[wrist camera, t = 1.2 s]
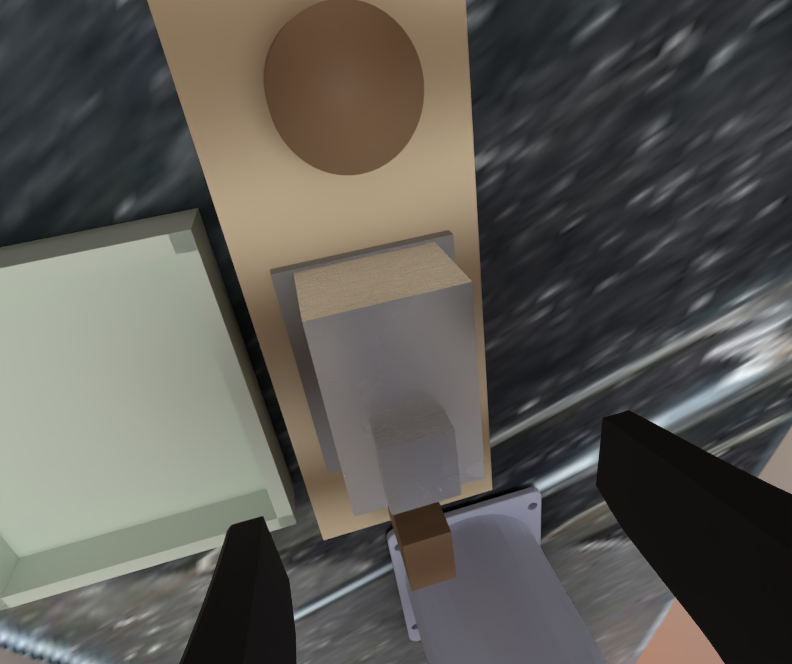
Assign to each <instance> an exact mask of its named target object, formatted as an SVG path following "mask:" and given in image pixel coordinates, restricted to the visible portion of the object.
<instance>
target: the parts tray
mask: <svg viewBox="0 0 792 664" xmlns="http://www.w3.org/2000/svg"><path fill="white" fill-rule="evenodd" d="M260 516H263V517H264V519H265V522H266V524H267V527H268V529H269V532H271V531H274V530H278V529H281V528H284V527H288V526H291V525H295V524H297V523H296V512H295V501H294V490H293V482H292V479H291V476H290V473H289V471H288V468H287V465H286V462H285V459H284V456H283V453H282V450H281V447H280V444H279V441H278V439H277V436H276V433H275V430H274V427H273V424H272V421H271V418H270V415H269V412H268V409H267V407H266V404H265V401H264V398H263V395H262V392H261V389H260V386H259V383H258V380H257V377H256V375H255V372H254V369H253V366H252V363H251V360H250V357H249V354H248V351H247V348H246V345H245V342H244V340H243V337H242V334H241V331H240V328H239V325H238V322H237V319H236V316H235V313H234V310H233V308H232V305H231V302H230V299H229V296H228V293H227V290H226V287H225V284H224V281H223V278H222V276H221V273H220V270H219V267H218V264H217V261H216V258H215V255H214V252H213V249H212V246H211V244H210V241H209V238H208V235H207V232H206V229H205V226H204V223H203V220H202V217H201V214H200V212H199V209H198V208H195V209H190V210H185V211H180V212H175V213H170V214H165V215H160V216H155V217H150V218H145V219H140V220H135V221H130V222H125V223H120V224H115V225H110V226H105V227H100V228H95V229H90V230H85V231H80V232H75V233H70V234H65V235H60V236H55V237H50V238H45V239H40V240H35V241H30V242H25V243H20V244H15V245H10V246H5V247H0V611H1V610H4V609H8V608H11V607H14V606H18V605H21V604H25V603H28V602H31V601H35V600H38V599H42V598H45V597H49V596H52V595H55V594H59V593H62V592H66V591H69V590H72V589H76V588H79V587H83V586H86V585H90V584H93V583H96V582H100V581H103V580H107V579H110V578H114V577H117V576H120V575H124V574H127V573H131V572H134V571H137V570H141V569H144V568H148V567H151V566H155V565H158V564H161V563H165V562H168V561H172V560H175V559H178V558H182V557H185V556H189V555H192V554H196V553H199V552H202V551H206V550H209V549H213V548H216V547H219V546H223V543H224V539H225V536H226V532H227V530H228V529H229V527H230V526H231V525H233V524H236V523H239V522H243V521H246V520H250V519H253V518H257V517H260Z"/></svg>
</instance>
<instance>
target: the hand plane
mask: <svg viewBox="0 0 792 664" xmlns="http://www.w3.org/2000/svg"><path fill="white" fill-rule="evenodd" d="M147 1H148V4H149V7H150V10H151V13H152V16H153V19H154V22H155V25H156V29H157V32H158V35H159V38H160V41H161V44H162V47H163V50H164V53H165V56H166V59H167V62H168V65H169V68H170V71H171V75H172V78H173V81H174V84H175V87H176V90H177V93H178V96H179V99H180V102H181V105H182V108H183V111H184V114H185V117H186V120H187V124H188V127H189V130H190V133H191V136H192V139H193V142H194V145H195V148H196V151H197V154H198V157H199V160H200V163H201V166H202V170H203V173H204V176H205V179H206V182H207V185H208V188H209V191H210V194H211V197H212V200H213V203H214V206H215V209H216V212H217V216H218V219H219V222H220V225H221V228H222V231H223V234H224V237H225V240H226V243H227V246H228V249H229V252H230V255H231V258H232V261H233V265H234V268H235V271H236V274H237V277H238V280H239V283H240V286H241V289H242V292H243V295H244V298H245V301H246V304H247V307H248V311H249V314H250V317H251V320H252V323H253V326H254V329H255V332H256V335H257V338H258V341H259V344H260V347H261V350H262V353H263V357H264V360H265V363H266V366H267V369H268V372H269V375H270V378H271V381H272V384H273V387H274V390H275V393H276V396H277V399H278V402H279V406H280V409H281V412H282V415H283V418H284V421H285V424H286V427H287V430H288V433H289V436H290V439H291V442H292V445H293V448H294V452H295V455H296V458H297V461H298V464H299V467H300V470H301V473H302V476H303V479H304V482H305V485H306V488H307V491H308V494H309V497H310V501H311V504H312V507H313V510H314V513H315V516H316V519H317V522H318V525H319V528H320V531H321V534H322V537H323V540H326V539H330V538H333V537H336V536H340V535H343V534H346V533H350V532H353V531H356V530H360V529H363V528H366V527H370V526H373V525H376V524H380V523H383V522H387V521H390V520H391V522H392V526H393V529H394V532H395V536H396V539H397V543H398V546H399V549H400V553H401V556H402V560H403V563H404V567H405V570H406V573H407V577H408V580H409V584H410V587H411V591H416V590H419V589H422V588H425V587H428V586H431V585H434V584H437V583H440V582H444V581H447V580H450V579H453V578H456V577H457V575H456V567H455V559H454V551H453V543H452V534H451V530H450V528H449V525H448V523H447V520H446V518H445V515H444V513H443V511H442V508H441V506H440V505H443V504H447V503H450V502H453V501H457V500H460V499H463V498H467V497H470V496H473V495H477V494H480V493H483V492H487V491H490V490H492V474H491V456H490V437H489V419H488V401H487V383H486V364H485V346H484V328H483V310H482V291H481V273H480V255H479V236H478V218H477V200H476V182H475V163H474V145H473V127H472V109H471V90H470V72H469V54H468V35H467V17H466V0H147ZM428 241H434V242H435V243H436V244H437V245H438V246H439V247H440V248H441V249H442V250H443V251H444V252H445V253H446V254H447V255H448V256H449V258H450V259H451V260H452V261H453V262H454V263H455V264H456V265H457V266H458V267H459V268H460V269H461V270H462V271H463V272H464V273H465V274H466V276H467V277H468V278H469V279H470V280H471V281H472V285H473V300H474V316H475V331H476V347H477V362H478V378H479V393H480V409H481V424H482V440H483V455H484V471H485V478H484V479H480V480H477V481H473V482H470V483H467V484H463V485H460V486H461V495H459V496H456V497H453V498H449V499H446V500H443V501H439V502H436V503H433V504H429V505H426V506H423V507H419V508H416V509H412V510H409V511H406V512H402V513H399V514H396V515H391V512H390V509H389V507H385V508H382V509H379V510H375V511H372V512H368V513H365V514H362V515H358V516H355V517H354V514H353V510H352V507H351V503H350V499H349V495H348V492H347V488H346V484H345V480H344V477H343V473H342V469H341V465H340V462H339V458H338V454H337V450H336V447H335V443H334V439H333V436H332V432H331V428H330V424H329V421H328V417H327V413H326V409H325V406H324V402H323V398H322V394H321V391H320V387H319V383H318V379H317V376H316V372H315V368H314V365H313V361H312V357H311V353H310V350H309V346H308V342H307V338H306V335H305V331H304V327H303V323H302V319H301V313H300V307H299V302H298V296H297V291H296V285H295V279H294V274H293V271H298V270H302V269H307V268H311V267H316V266H320V265H325V264H329V263H334V262H338V261H343V260H347V259H352V258H356V257H361V256H365V255H370V254H374V253H379V252H383V251H388V250H392V249H397V248H401V247H406V246H410V245H415V244H419V243H424V242H428Z"/></svg>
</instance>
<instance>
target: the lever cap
mask: <svg viewBox="0 0 792 664" xmlns="http://www.w3.org/2000/svg"><path fill="white" fill-rule="evenodd" d="M293 274H294V279H295V285H296V291H297V296H298V302H299V307H300V313H301V319H302V323H303V327H304V331H305V335H306V338H307V342H308V346H309V350H310V353H311V357H312V361H313V365H314V368H315V372H316V376H317V379H318V383H319V387H320V391H321V394H322V398H323V402H324V406H325V409H326V413H327V417H328V421H329V424H330V428H331V432H332V436H333V439H334V443H335V447H336V450H337V454H338V458H339V462H340V465H341V469H342V473H343V477H344V480H345V484H346V488H347V492H348V495H349V499H350V503H351V507H352V510H353V514H354V517H355V516H358V515H362V514H365V513H368V512H372V511H375V510H379V509H382V508H385V507H389V509H390V512H391V515H396V514H399V513H402V512H406V511H409V510H412V509H416V508H419V507H423V506H426V505H429V504H433V503H436V502H439V501H443V500H446V499H449V498H453V497H456V496H459V495H461V486H460V485H463V484H467V483H470V482H473V481H477V480H480V479H484V478H485V471H484V455H483V440H482V424H481V409H480V393H479V378H478V362H477V347H476V331H475V316H474V300H473V285H472V281H471V280H470V279H469V278H468V277H467V276H466V274H465V273H464V272H463V271H462V270H461V269H460V268H459V267H458V266H457V265H456V264H455V263H454V262H453V261H452V260H451V259H450V258H449V256H448V255H447V254H446V253H445V252H444V251H443V250H442V249H441V248H440V247H439V246H438V245H437V244H436V243H435V242H434V241H428V242H424V243H419V244H415V245H410V246H406V247H401V248H397V249H392V250H388V251H383V252H379V253H374V254H370V255H365V256H361V257H356V258H352V259H347V260H343V261H338V262H334V263H329V264H325V265H320V266H316V267H311V268H307V269H302V270H298V271H293Z"/></svg>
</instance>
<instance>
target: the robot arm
mask: <svg viewBox="0 0 792 664" xmlns="http://www.w3.org/2000/svg"><path fill="white" fill-rule="evenodd" d="M596 486H597V488H598V489H599V491H600V493H601V494H602V496H603V498H604V500H605V501H606V503H607V505H608V506H609V508H610V510H611V511H612V513H613V514H614V516H615V518H616V519H617V521H618V522H619V524H620V526H621V527H622V529H623V530H624V531H625V533H626V534H627V535H628V537H629V538H630V539H631V541H632V542H633V543H634V545H635V546H636V547H637V548H638V550H639V551H640V552H641V554H642V555H643V556H644V558H645V559H646V560H647V561H648V563H649V564H650V565H651V567H652V568H653V569H654V570H655V572H656V573H657V574H658V575H659V577H660V578H661V579H662V581H663V582H664V583H665V584H666V586H667V587H668V588H669V589H670V591H671V592H672V593H673V595H674V596H675V597H676V598H677V600H678V601H679V602H680V603H681V605H682V606H683V607H684V609H685V610H686V611H687V612H688V614H689V615H690V616H691V617H692V619H693V620H694V621H695V623H696V624H697V625H698V626H699V628H700V629H701V631H702V632H703V633H704V635H705V636H706V637H707V639H708V640H709V641H710V643H711V644H712V646H713V647H714V648H715V650H716V651H717V653H718V654H719V656H720V657H721V659H722V660H723V662H724V663H725V664H792V494H790V493H788V492H785V491H784V490H782V489H779V488H777V487H775V486H773V485H771V484H769V483H767V482H765V481H763V480H761V479H759V478H757V477H755V476H753V475H751V474H749V473H747V472H745V471H743V470H741V469H739V468H737V467H735V466H733V465H731V464H729V463H727V462H725V461H723V460H721V459H719V458H718V457H716V456H714V455H712V454H710V453H708V452H706V451H704V450H702V449H701V448H699V447H697V446H695V445H693V444H691V443H689V442H688V441H686V440H684V439H682V438H680V437H678V436H676V435H675V434H673V433H671V432H669V431H667V430H665V429H663V428H662V427H660V426H658V425H656V424H654V423H652V422H650V421H648V420H647V419H645V418H643V417H641V416H639V415H637V414H635V413H633V412H631V411H625V412H622V413H618V414H615V415H611V416H608V417H604V418H603V422H602V432H601V441H600V451H599V461H598V471H597V481H596ZM444 515H445V518H446V520H447V523H448V525H449V528H450V530H451V534H452V543H453V551H454V559H455V567H456V575H457V577H456V578H453V579H450V580H447V581H444V582H440V583H437V584H434V585H431V586H428V587H425V588H422V589H419V590H416V591H411V587H410V584H409V580H408V577H407V573H406V570H405V567H404V563H403V560H402V556H401V553H400V549H399V546H398V543H397V539H396V536H395V532H394V529H392V530H391V531H389V532H388V534H387V542H388V546H389V551H390V555H391V559H392V564H393V568H394V573H395V577H396V582H397V586H398V591H399V595H400V599H401V604H402V608H403V613H404V617H405V622H406V626H407V630H408V635H409V638H410V640H412V641H419V640H421V641H422V644H423V648H424V651H425V655H426V658H427V662H428V664H607V662H606V660H605V659H604V657H603V655H602V653H601V652H600V650H599V648H598V647H597V645H596V643H595V641H594V640H593V638H592V636H591V634H590V633H589V631H588V629H587V627H586V626H585V624H584V622H583V621H582V619H581V617H580V615H579V614H578V612H577V610H576V608H575V607H574V605H573V603H572V601H571V600H570V598H569V596H568V595H567V593H566V591H565V589H564V588H563V586H562V584H561V582H560V581H559V579H558V577H557V575H556V574H555V572H554V570H553V569H552V567H551V565H550V563H549V562H548V560H547V558H546V556H545V555H544V553H543V551H542V549H541V548H540V543H541V493H540V492H539V490H538V489H537V488H535V487H530V488H526V489H523V490H519V491H516V492H513V493H509V494H506V495H503V496H499V497H496V498H493V499H489V500H486V501H483V502H480V503H476V504H473V505H470V506H466V507H463V508H460V509H456V510H453V511H450V512H446V513H444ZM179 664H296V633H295V624H294V615H293V607H292V599H291V591H290V583H289V578H288V576H287V573H286V571H285V568H284V566H283V564H282V561H281V559H280V556H279V554H278V551H277V549H276V546H275V544H274V541H273V539H272V537H271V534H270V532H269V529H268V527H267V524H266V522H265V519H264V517H263V516H260V517H257V518H253V519H250V520H246V521H243V522H239V523H236V524H233V525H231V526H230V527H229V529H228V530H227V532H226V536H225V539H224V543H223V546H222V549H221V552H220V555H219V559H218V562H217V565H216V568H215V571H214V574H213V577H212V580H211V582H210V585H209V588H208V591H207V594H206V597H205V599H204V602H203V605H202V607H201V610H200V613H199V615H198V618H197V620H196V623H195V626H194V628H193V631H192V633H191V636H190V638H189V641H188V644H187V646H186V649H185V651H184V654H183V656H182V658H181V661H180V663H179Z"/></svg>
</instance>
